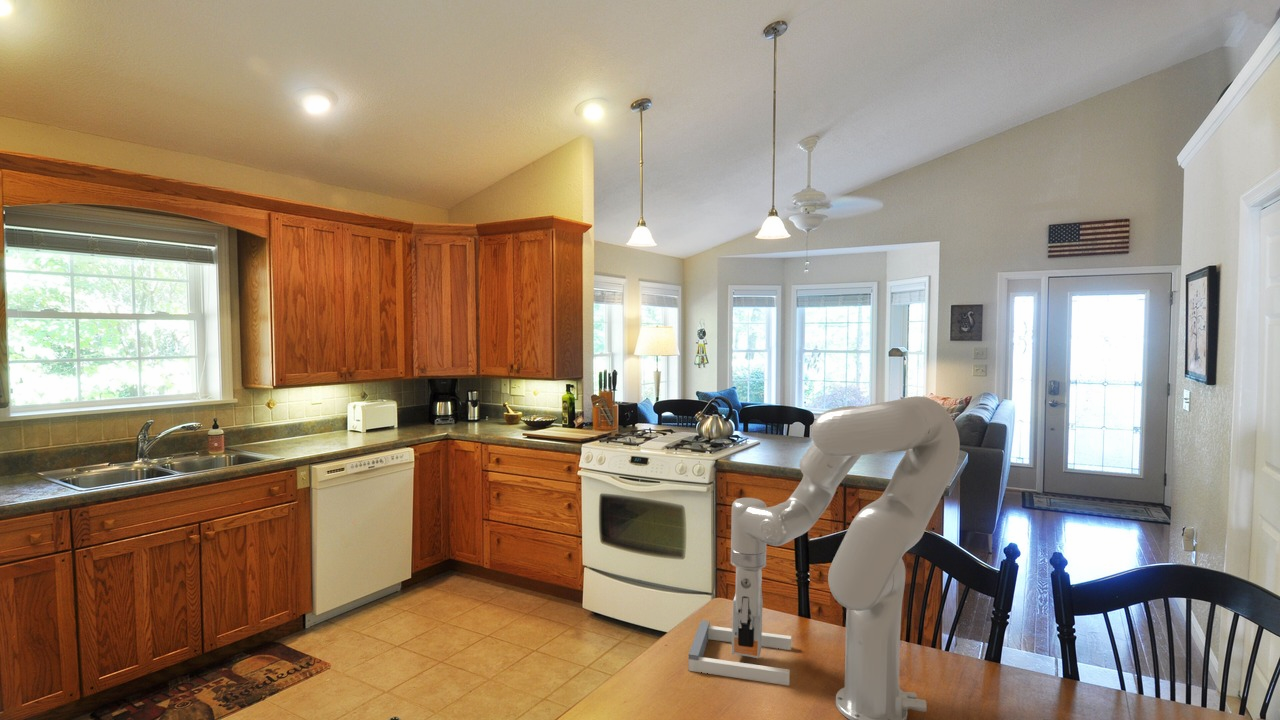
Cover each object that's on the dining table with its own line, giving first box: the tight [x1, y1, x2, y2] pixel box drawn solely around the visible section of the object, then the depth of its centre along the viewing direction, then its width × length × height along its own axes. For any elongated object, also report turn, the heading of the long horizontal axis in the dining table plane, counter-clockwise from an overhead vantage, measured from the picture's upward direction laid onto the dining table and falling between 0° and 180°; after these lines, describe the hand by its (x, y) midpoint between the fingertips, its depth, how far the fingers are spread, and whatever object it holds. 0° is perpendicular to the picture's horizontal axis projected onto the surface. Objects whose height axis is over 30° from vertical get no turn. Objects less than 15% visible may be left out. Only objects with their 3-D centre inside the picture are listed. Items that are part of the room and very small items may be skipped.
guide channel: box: [687, 620, 792, 686], centre depth 135 cm, size 20×16×4 cm
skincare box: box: [731, 592, 764, 659], centre depth 134 cm, size 6×4×12 cm
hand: (746, 639), depth 134 cm, fingers closed on skincare box, 4 cm apart
